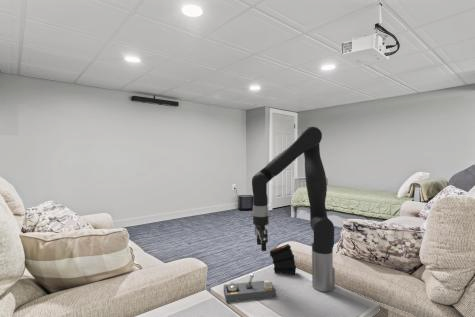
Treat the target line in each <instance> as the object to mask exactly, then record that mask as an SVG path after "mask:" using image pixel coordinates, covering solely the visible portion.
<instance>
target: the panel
mask: <svg viewBox="0 0 475 317" xmlns="http://www.w3.org/2000/svg"><path fill="white" fill-rule="evenodd" d="M248 283H249V281H248V282H238V283H236V284H237V285H238V292H231V293H228V285H229V284H230V283H229V284H228V283H227V284H223V293H224V298H225V302H226V303H231V302H240V301H248V300H250V301H251V300H257V299H266V298H274V297H277V290H276V288H275V286H274V285H273V283H272V288H270V289H265V288H264V280H259V281H251V284H248Z"/></svg>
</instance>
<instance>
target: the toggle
mask: <svg viewBox="0 0 475 317" xmlns="http://www.w3.org/2000/svg"><path fill="white" fill-rule="evenodd" d="M254 277H255V276H254V274H253V273H252V274H250V277H249V280H248V282H249V283H248V284H251V282H253V281H252V280H253V278H254Z"/></svg>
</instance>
